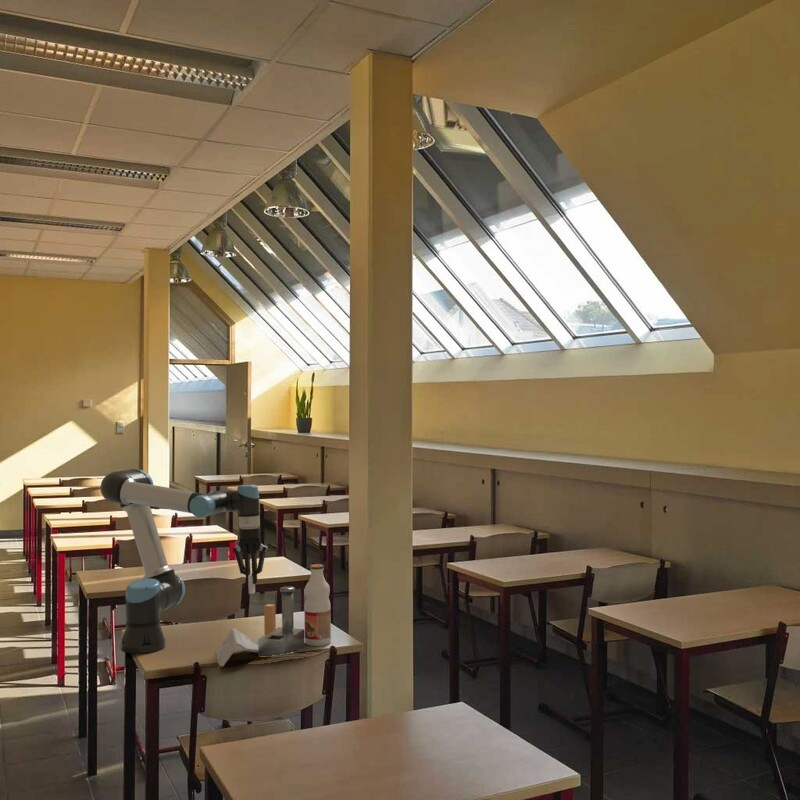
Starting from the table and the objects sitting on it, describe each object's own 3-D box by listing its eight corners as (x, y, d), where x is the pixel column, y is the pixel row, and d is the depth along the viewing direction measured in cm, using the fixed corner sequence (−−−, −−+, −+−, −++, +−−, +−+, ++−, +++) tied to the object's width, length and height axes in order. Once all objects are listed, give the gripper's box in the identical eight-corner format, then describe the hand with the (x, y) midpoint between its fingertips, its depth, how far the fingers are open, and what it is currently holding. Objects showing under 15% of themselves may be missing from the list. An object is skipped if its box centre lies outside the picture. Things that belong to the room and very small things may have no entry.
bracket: (237, 642, 271) (232, 627, 290) (218, 668, 269) (215, 651, 288) (269, 663, 274) (262, 647, 293) (251, 689, 272) (245, 671, 291)
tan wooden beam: (264, 641, 300) (264, 605, 300) (268, 639, 303) (268, 604, 303) (272, 642, 299) (271, 606, 300) (275, 640, 302) (275, 604, 302)
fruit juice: (330, 646, 293) (329, 567, 294) (304, 647, 293) (303, 568, 293) (331, 639, 303) (330, 562, 303) (305, 639, 302) (304, 563, 302)
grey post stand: (258, 656, 282) (257, 595, 282) (279, 644, 297) (278, 585, 297) (285, 659, 279) (284, 596, 279) (304, 646, 294) (303, 587, 294)
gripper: (228, 529, 295) (231, 595, 295) (263, 528, 294) (266, 595, 293) (235, 526, 303) (238, 591, 302) (270, 525, 301) (272, 590, 300)
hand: (252, 593), depth 298 cm, fingers closed
